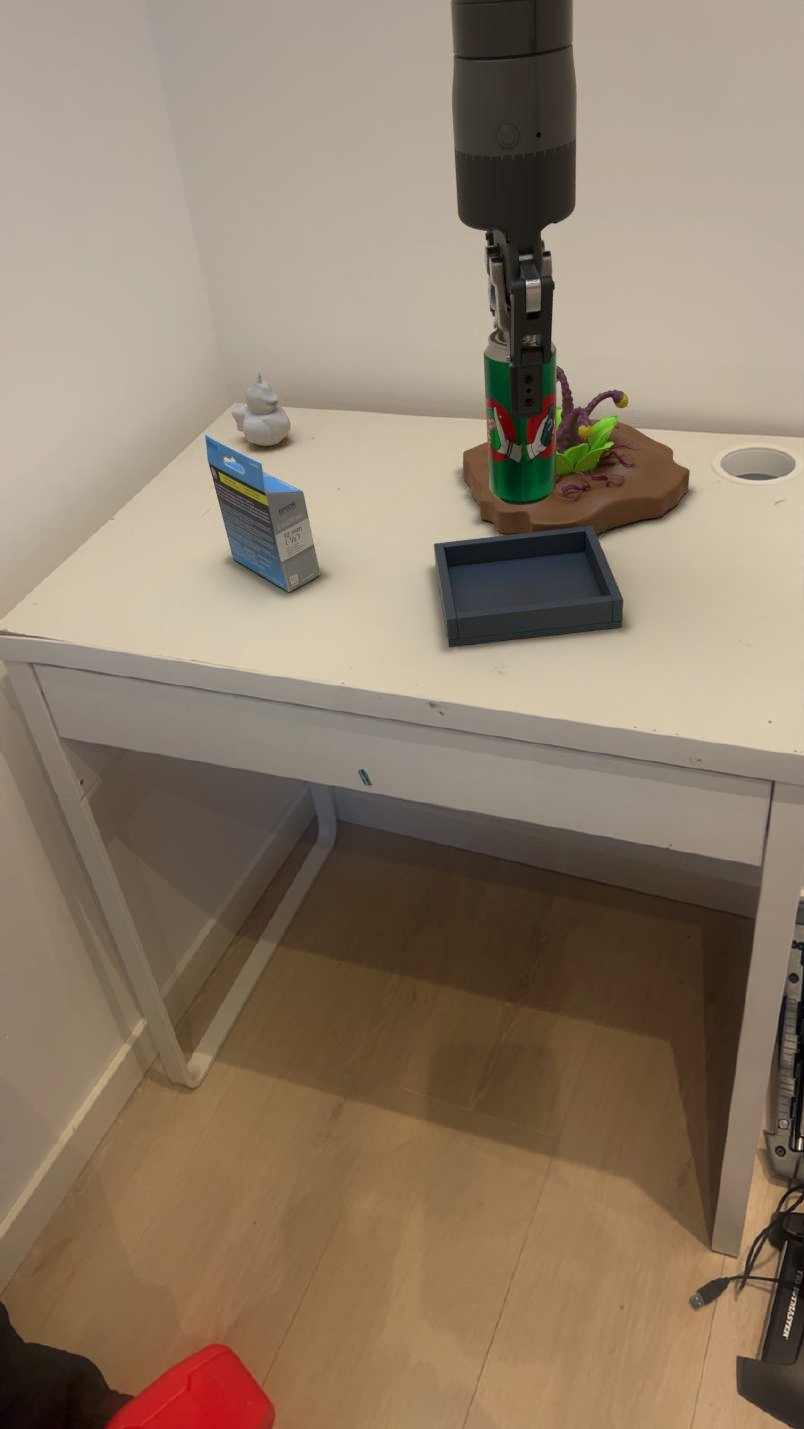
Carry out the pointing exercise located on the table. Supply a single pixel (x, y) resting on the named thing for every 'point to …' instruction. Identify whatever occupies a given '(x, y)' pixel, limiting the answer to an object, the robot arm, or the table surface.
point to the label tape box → (263, 518)
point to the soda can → (518, 430)
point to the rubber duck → (262, 415)
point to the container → (526, 586)
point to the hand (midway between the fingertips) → (520, 399)
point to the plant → (588, 474)
